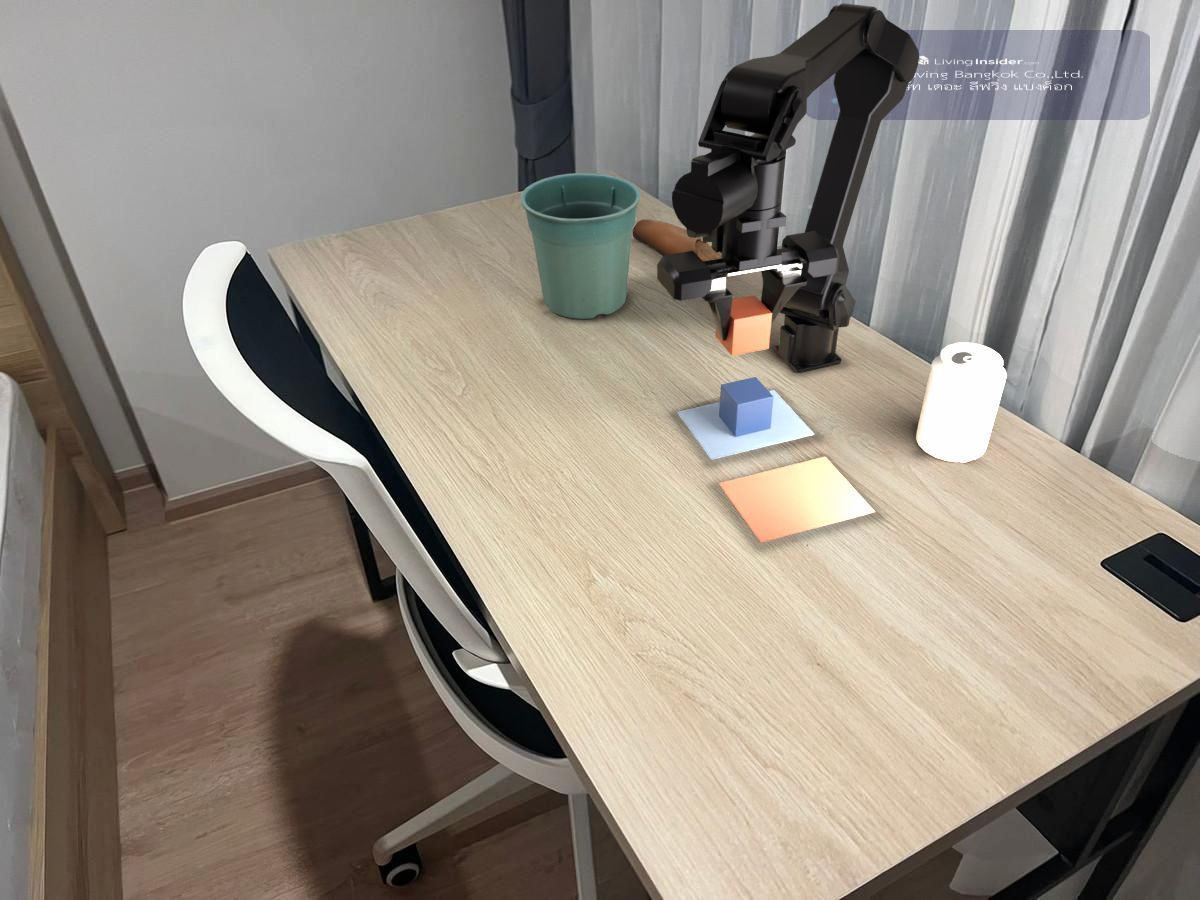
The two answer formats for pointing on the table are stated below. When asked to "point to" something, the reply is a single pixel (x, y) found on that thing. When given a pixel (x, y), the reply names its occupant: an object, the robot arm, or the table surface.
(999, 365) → the can
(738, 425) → the blue block
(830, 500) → the terracotta mat
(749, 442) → the blue mat
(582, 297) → the flower pot
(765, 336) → the terracotta block
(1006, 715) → the table surface
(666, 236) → the sunglasses case
